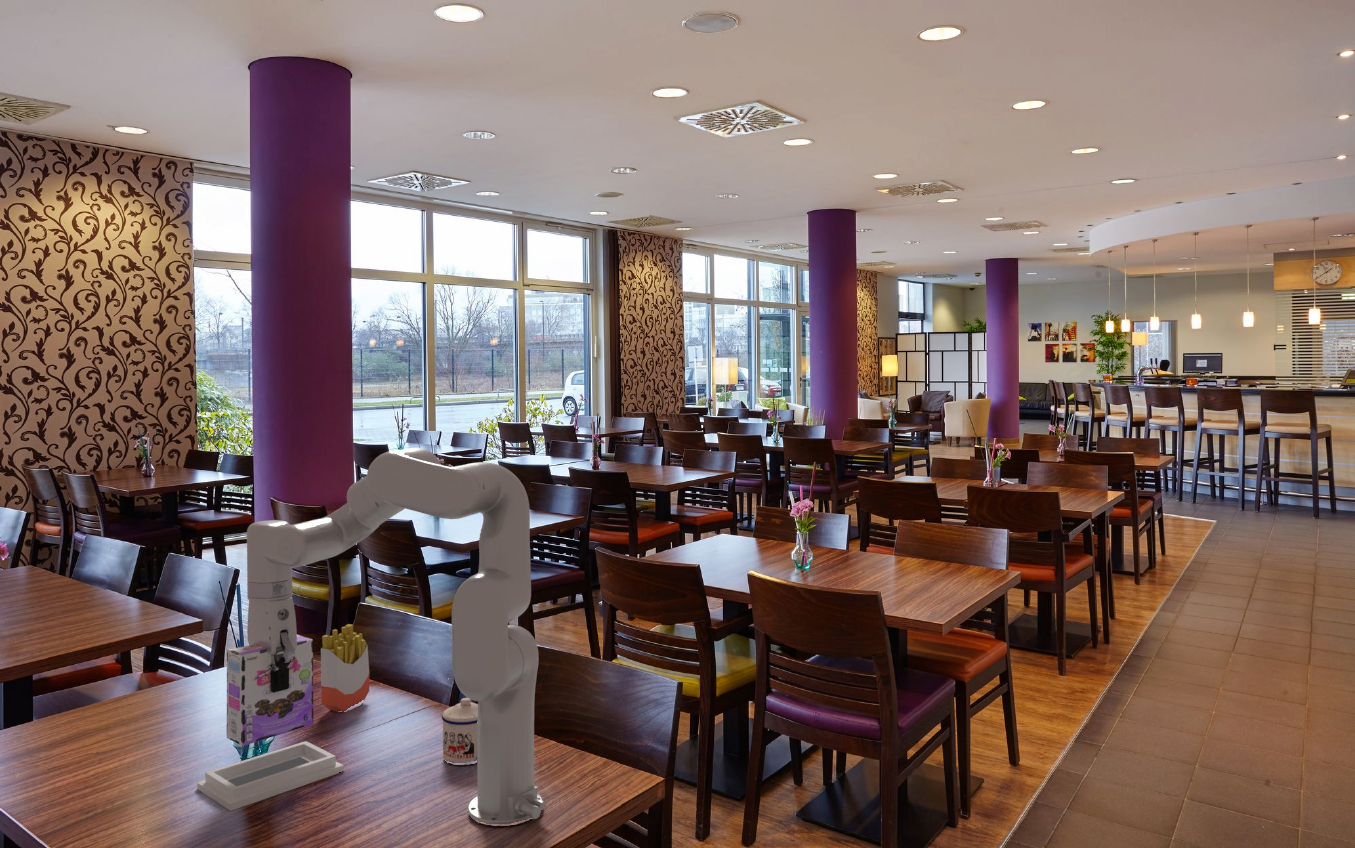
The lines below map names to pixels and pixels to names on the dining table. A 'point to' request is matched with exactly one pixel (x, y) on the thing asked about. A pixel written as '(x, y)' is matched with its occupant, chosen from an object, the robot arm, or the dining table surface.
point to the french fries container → (344, 669)
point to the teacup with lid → (460, 732)
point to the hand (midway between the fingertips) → (270, 685)
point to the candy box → (267, 693)
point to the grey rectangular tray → (268, 775)
